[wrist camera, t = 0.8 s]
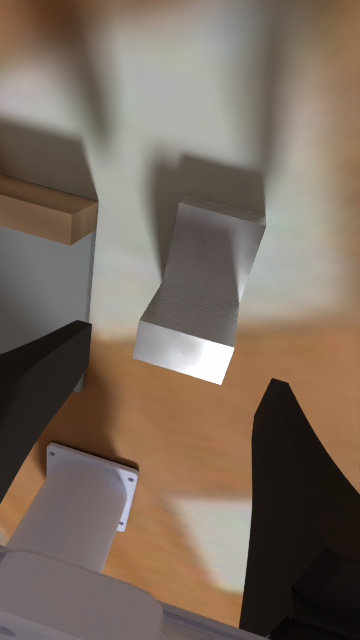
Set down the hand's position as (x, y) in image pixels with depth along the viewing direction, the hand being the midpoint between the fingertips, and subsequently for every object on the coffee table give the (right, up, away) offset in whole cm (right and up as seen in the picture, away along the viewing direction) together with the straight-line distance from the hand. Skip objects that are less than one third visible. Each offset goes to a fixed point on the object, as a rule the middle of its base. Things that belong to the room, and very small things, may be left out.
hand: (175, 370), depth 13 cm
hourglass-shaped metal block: (+2, +5, +5) cm, 7 cm away
